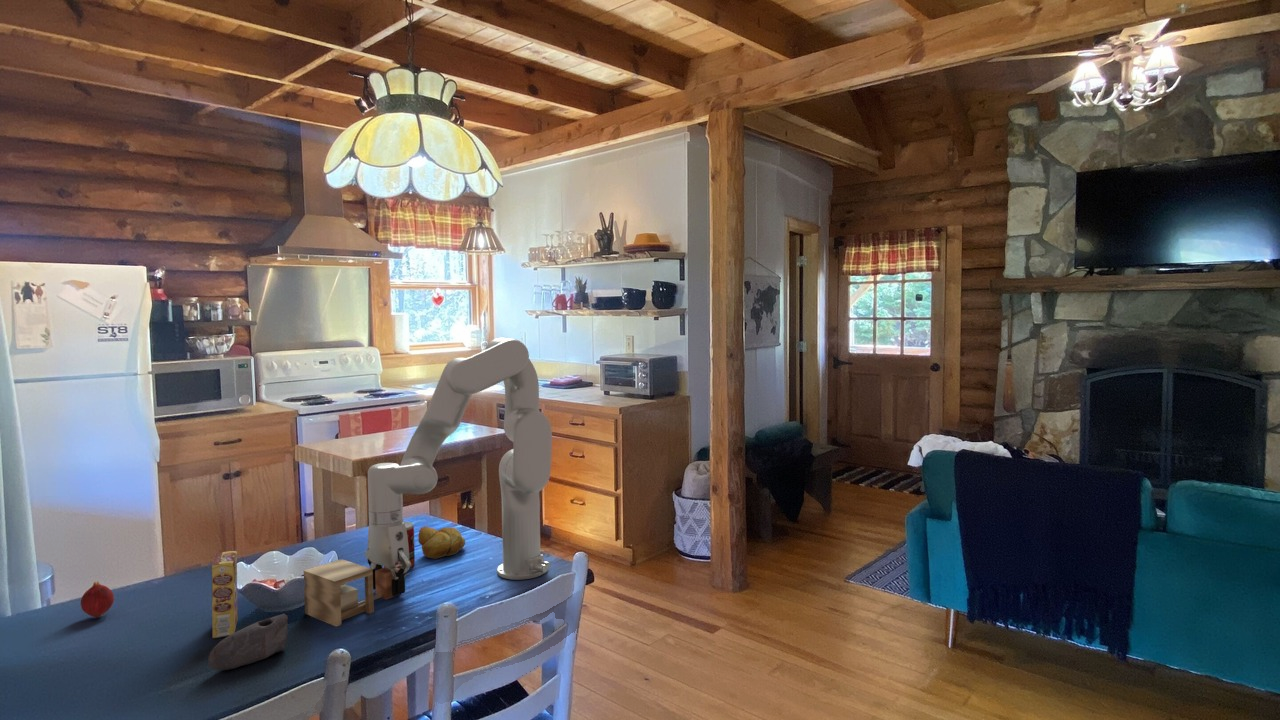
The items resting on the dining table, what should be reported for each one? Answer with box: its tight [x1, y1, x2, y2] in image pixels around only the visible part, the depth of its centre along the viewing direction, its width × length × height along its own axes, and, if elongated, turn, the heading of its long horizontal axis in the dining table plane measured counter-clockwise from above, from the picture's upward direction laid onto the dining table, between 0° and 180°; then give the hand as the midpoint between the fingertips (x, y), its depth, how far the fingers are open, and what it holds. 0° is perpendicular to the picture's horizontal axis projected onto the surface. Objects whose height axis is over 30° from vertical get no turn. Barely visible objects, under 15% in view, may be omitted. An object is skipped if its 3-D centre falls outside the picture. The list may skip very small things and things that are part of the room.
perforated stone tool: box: [207, 613, 289, 671], centre depth 134 cm, size 15×5×7 cm, turn 140°
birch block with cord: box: [340, 567, 400, 612], centre depth 161 cm, size 5×16×6 cm, turn 145°
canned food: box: [383, 520, 416, 569], centre depth 185 cm, size 8×8×11 cm
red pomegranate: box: [80, 580, 115, 618], centre depth 154 cm, size 6×6×8 cm
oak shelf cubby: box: [303, 558, 375, 627], centre depth 155 cm, size 12×9×10 cm
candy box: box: [211, 550, 239, 639], centre depth 148 cm, size 9×4×15 cm, turn 26°
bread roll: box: [417, 526, 466, 560], centre depth 195 cm, size 13×10×8 cm
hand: (388, 590), depth 166 cm, fingers open, 7 cm apart
